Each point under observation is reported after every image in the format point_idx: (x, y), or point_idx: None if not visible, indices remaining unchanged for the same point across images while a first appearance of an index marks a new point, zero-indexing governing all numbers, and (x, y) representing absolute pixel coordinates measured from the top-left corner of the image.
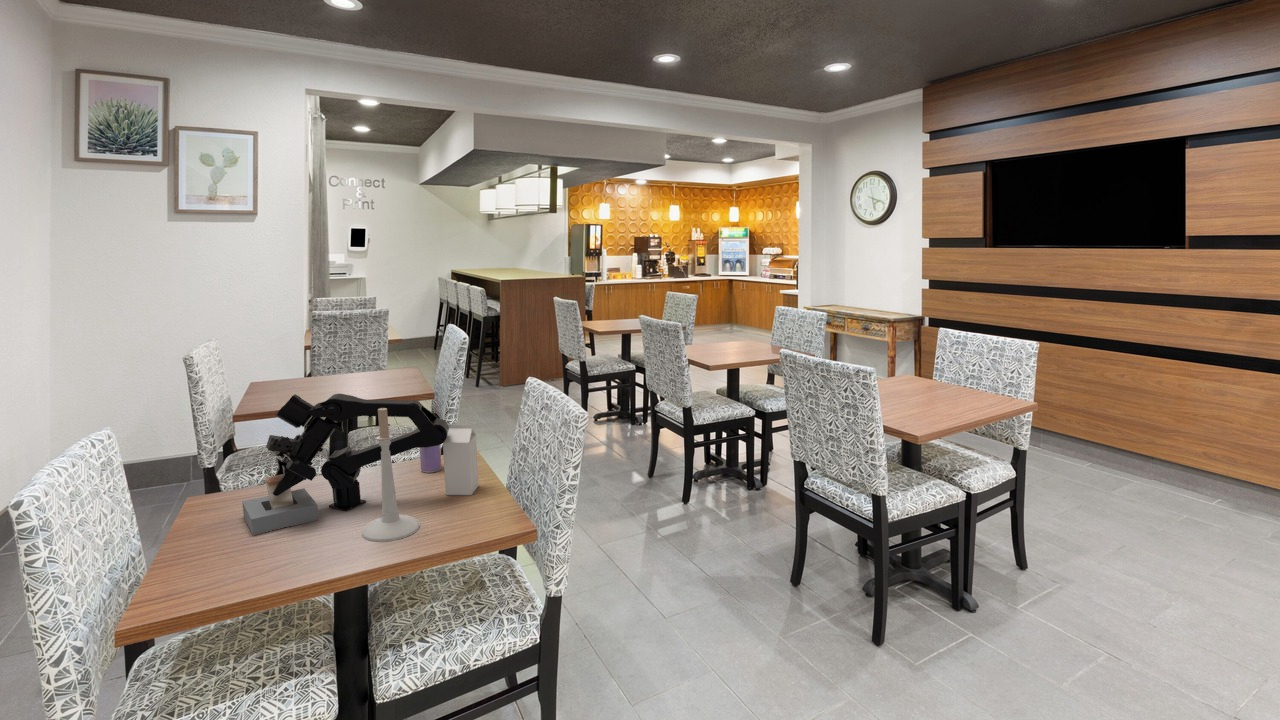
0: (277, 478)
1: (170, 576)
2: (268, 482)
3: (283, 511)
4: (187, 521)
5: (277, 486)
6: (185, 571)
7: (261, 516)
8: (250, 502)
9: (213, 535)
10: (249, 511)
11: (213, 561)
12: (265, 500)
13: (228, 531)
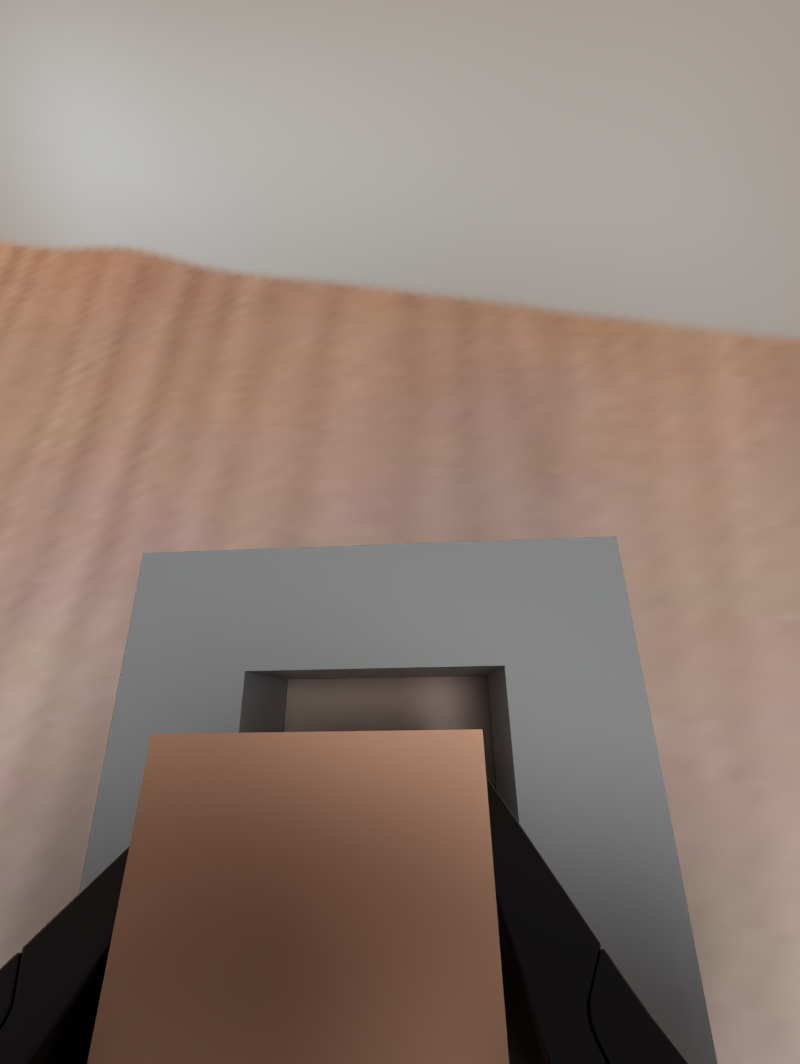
0: (258, 953)
1: (35, 287)
2: (172, 742)
3: (109, 807)
4: (664, 327)
5: (113, 863)
6: (33, 325)
7: (144, 623)
8: (548, 589)
9: (364, 419)
10: (326, 560)
11: (36, 408)
12: (526, 710)
13: (371, 481)
